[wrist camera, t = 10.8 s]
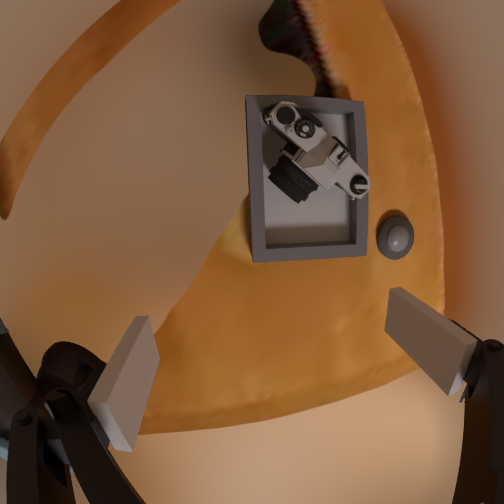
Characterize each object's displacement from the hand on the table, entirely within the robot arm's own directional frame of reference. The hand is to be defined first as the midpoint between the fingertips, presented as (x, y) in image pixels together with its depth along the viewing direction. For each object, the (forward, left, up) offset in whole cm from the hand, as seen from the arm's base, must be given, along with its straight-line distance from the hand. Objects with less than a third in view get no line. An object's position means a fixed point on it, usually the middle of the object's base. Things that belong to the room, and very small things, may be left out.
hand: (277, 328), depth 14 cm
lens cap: (+20, 0, -22) cm, 29 cm away
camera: (+5, +10, -20) cm, 23 cm away
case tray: (+7, +8, -21) cm, 24 cm away
